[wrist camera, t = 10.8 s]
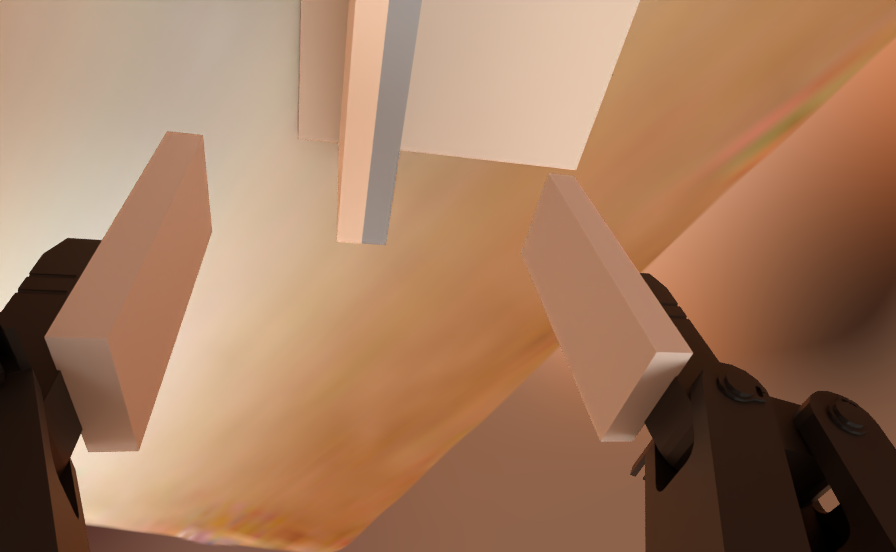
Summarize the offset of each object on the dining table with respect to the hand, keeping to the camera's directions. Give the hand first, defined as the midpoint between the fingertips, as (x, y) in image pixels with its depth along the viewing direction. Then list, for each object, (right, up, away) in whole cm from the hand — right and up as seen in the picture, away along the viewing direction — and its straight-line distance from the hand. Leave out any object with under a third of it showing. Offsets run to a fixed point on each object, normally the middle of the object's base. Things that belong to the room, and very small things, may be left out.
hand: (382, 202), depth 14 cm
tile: (-2, +9, +12) cm, 15 cm away
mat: (+3, +9, +13) cm, 16 cm away
